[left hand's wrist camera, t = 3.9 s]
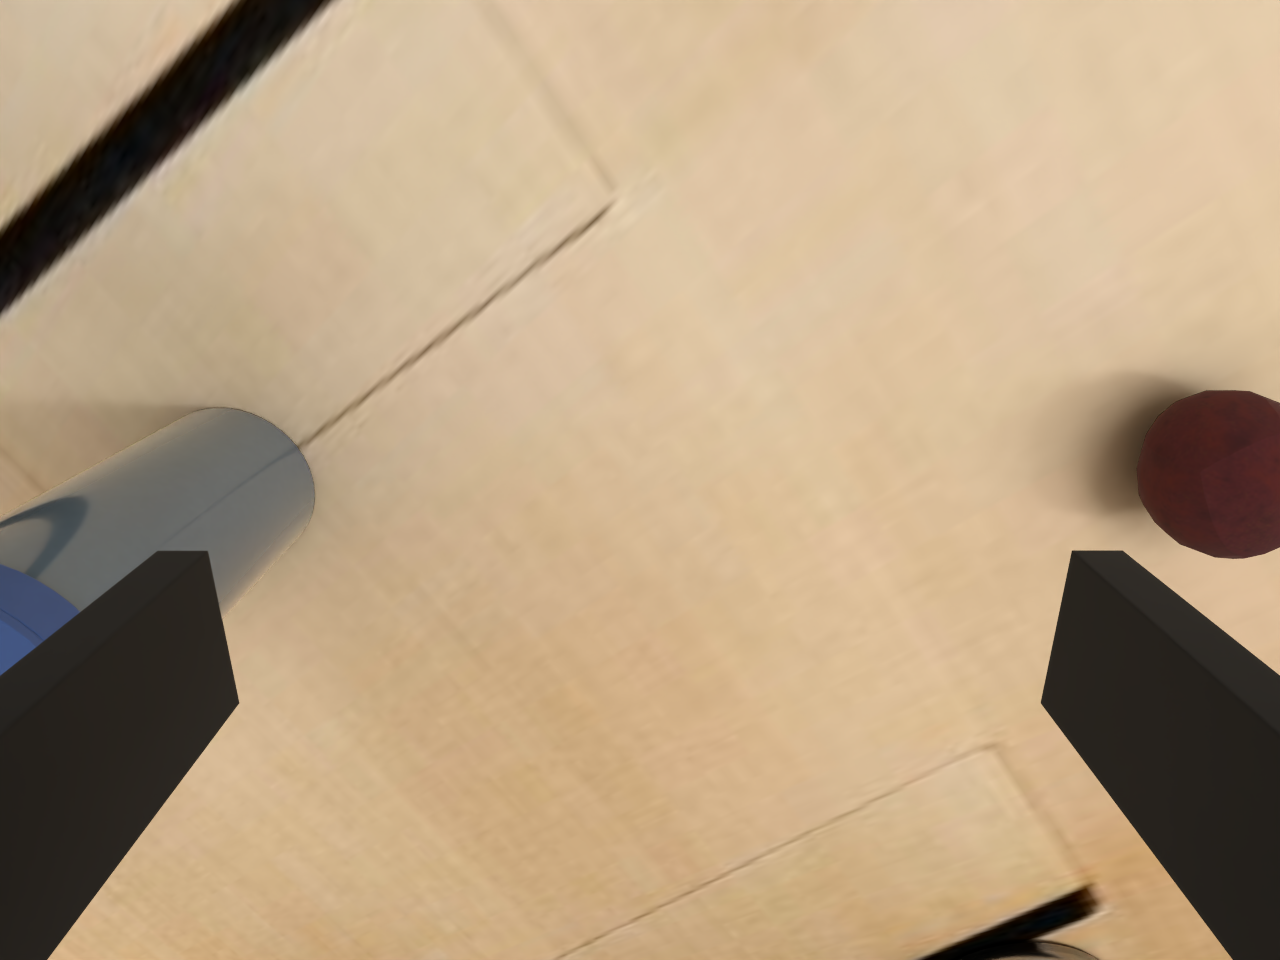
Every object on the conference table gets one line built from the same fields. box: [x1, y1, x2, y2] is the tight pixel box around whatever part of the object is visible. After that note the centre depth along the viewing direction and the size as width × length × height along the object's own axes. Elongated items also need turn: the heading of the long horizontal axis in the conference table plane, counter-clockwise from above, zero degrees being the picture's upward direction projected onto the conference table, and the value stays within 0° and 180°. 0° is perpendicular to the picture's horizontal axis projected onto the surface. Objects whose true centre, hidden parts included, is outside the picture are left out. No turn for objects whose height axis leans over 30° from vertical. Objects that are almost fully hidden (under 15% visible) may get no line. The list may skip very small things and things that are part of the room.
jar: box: [0, 408, 315, 620], centre depth 33 cm, size 8×8×19 cm
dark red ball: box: [1137, 390, 1280, 559], centre depth 38 cm, size 7×8×7 cm
